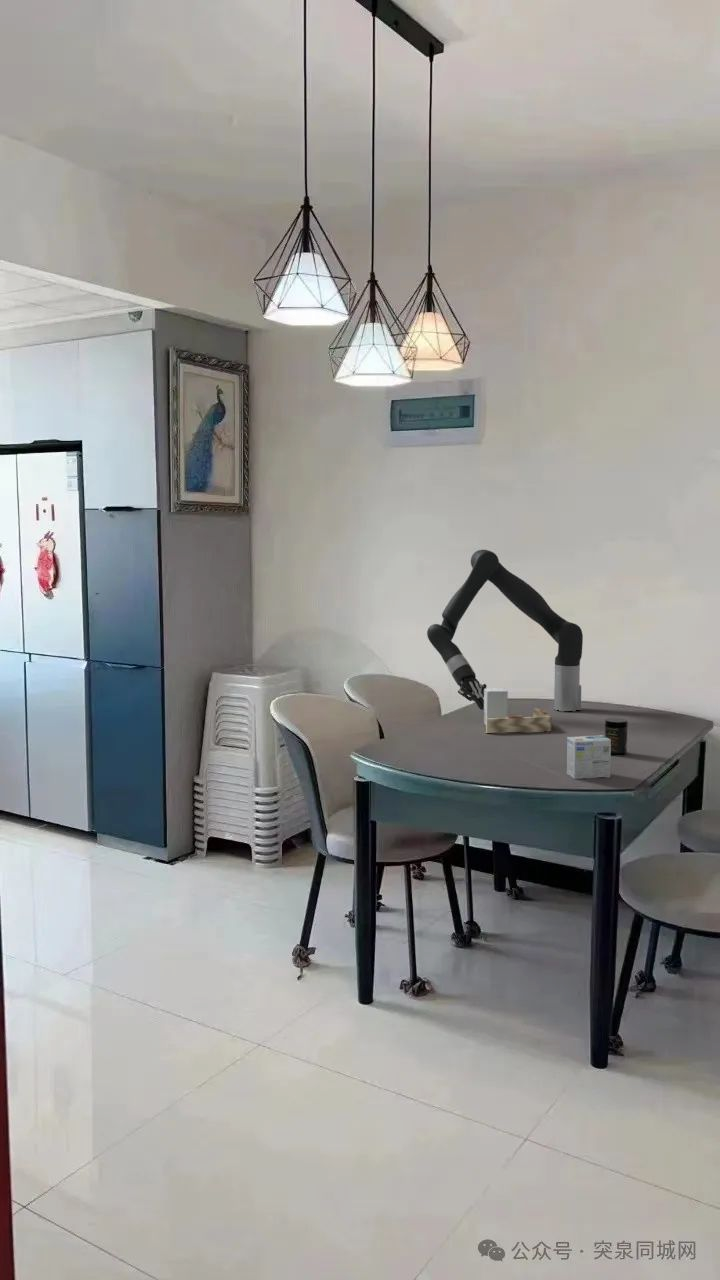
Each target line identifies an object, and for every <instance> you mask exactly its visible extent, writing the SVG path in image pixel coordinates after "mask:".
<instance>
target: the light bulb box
mask: <svg viewBox="0 0 720 1280" xmlns="http://www.w3.org/2000/svg"><path fill="white" fill-rule="evenodd" d="M566 737H567V738H566V746H567V747H566V774H567V775H568V776H569V775H570V776H569V777H571V778H572V779H574V780H579V779H583V778H586V779H598V778H597V777H606V778H611V763H612V762H611V761H612V760H611V758H612V757H611V756H612V755H611V740H610V739H608V738H606V737H605V735H602V734H601V735H581V736H566Z"/></svg>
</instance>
